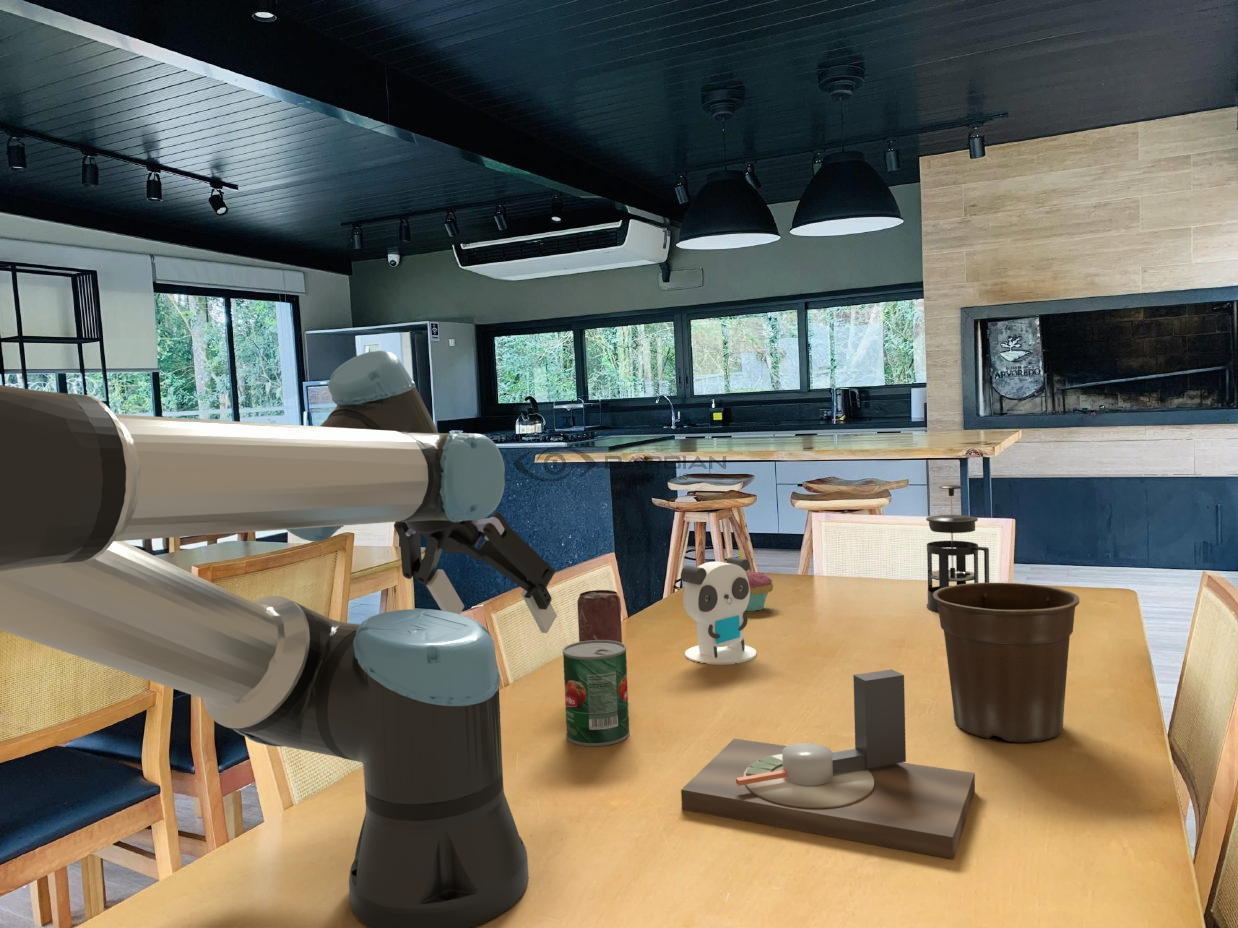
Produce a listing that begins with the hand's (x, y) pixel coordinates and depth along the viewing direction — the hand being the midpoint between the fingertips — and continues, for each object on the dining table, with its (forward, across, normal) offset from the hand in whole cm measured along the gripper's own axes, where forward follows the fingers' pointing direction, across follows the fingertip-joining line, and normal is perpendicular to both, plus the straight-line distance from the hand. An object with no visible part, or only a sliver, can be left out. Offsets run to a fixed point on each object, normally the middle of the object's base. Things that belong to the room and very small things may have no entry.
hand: (501, 619), depth 111 cm
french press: (+64, -37, -64) cm, 98 cm away
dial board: (+13, -39, +8) cm, 42 cm away
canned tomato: (+18, -8, +3) cm, 20 cm away
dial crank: (+12, -38, +6) cm, 40 cm away
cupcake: (+58, -2, -55) cm, 80 cm away
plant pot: (+30, -53, -16) cm, 63 cm away
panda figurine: (+40, -8, -29) cm, 49 cm away
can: (+27, 0, -10) cm, 29 cm away
